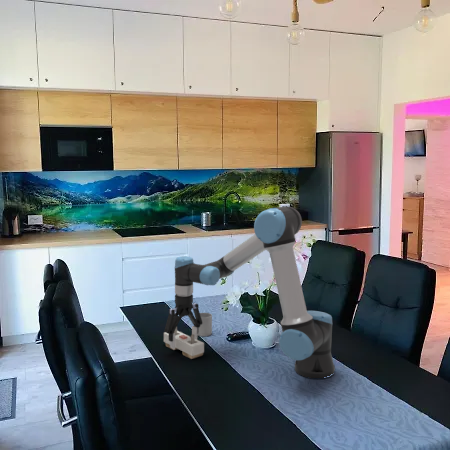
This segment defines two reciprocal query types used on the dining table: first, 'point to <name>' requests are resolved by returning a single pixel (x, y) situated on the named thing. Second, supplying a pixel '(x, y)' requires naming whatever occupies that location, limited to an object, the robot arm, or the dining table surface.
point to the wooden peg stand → (184, 352)
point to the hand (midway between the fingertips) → (183, 344)
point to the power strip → (186, 344)
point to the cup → (205, 325)
